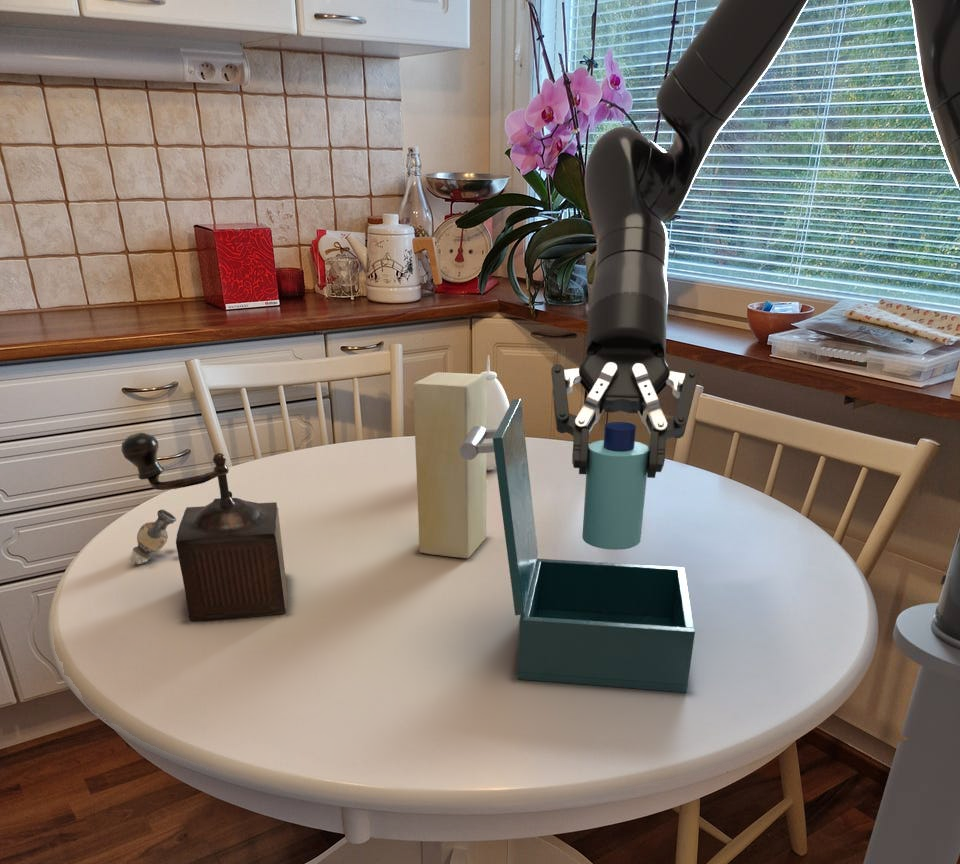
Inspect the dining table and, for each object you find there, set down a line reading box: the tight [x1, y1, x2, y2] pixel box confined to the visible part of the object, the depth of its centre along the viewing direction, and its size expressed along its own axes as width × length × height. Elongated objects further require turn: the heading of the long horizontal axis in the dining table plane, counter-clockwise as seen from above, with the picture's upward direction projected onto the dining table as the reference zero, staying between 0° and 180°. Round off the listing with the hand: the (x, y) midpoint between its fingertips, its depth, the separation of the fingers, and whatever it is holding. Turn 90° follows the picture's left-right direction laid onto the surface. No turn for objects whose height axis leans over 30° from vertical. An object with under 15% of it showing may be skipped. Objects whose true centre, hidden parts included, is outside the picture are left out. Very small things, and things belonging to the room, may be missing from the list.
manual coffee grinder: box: [120, 432, 288, 622], centre depth 91 cm, size 16×11×18 cm
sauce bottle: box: [479, 354, 510, 471], centre depth 135 cm, size 8×8×18 cm
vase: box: [129, 508, 177, 565], centre depth 104 cm, size 5×5×6 cm
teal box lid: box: [460, 398, 539, 616], centre depth 80 cm, size 16×15×5 cm
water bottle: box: [581, 421, 649, 551], centre depth 79 cm, size 6×6×11 cm
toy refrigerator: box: [412, 371, 487, 559], centre depth 104 cm, size 8×7×21 cm
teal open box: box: [517, 558, 696, 693], centre depth 84 cm, size 16×15×6 cm
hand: (617, 471), depth 77 cm, fingers closed on water bottle, 5 cm apart
